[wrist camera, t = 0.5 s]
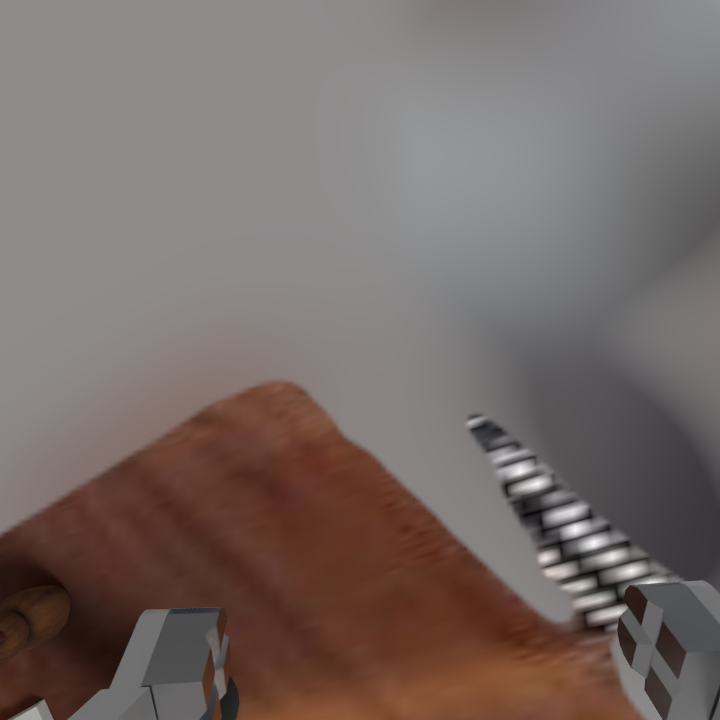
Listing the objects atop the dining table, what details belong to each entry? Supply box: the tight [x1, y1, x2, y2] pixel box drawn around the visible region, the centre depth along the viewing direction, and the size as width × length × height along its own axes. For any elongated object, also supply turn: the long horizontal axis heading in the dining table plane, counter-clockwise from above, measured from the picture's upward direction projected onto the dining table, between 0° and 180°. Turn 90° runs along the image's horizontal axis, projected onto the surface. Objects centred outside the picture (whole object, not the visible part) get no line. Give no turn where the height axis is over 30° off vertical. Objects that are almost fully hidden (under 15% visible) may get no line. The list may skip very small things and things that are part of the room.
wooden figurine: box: [0, 585, 71, 664], centre depth 52 cm, size 7×6×15 cm
